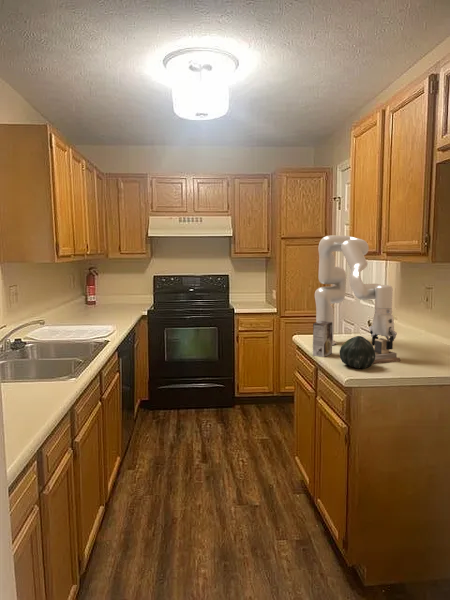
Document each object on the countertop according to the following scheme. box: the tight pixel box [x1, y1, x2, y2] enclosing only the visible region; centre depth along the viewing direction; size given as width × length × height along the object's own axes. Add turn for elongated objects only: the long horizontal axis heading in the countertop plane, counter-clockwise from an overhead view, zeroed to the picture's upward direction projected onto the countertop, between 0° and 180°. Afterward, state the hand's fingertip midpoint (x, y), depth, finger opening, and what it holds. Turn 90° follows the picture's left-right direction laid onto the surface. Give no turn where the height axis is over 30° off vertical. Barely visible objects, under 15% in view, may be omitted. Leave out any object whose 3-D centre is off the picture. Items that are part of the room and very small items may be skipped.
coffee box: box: [312, 321, 333, 358], centre depth 211 cm, size 9×6×16 cm
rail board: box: [372, 347, 401, 365], centre depth 201 cm, size 13×16×6 cm
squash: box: [339, 335, 375, 370], centre depth 188 cm, size 14×15×15 cm
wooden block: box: [374, 337, 390, 355], centre depth 202 cm, size 4×5×8 cm
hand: (381, 347), depth 202 cm, fingers open, 9 cm apart
